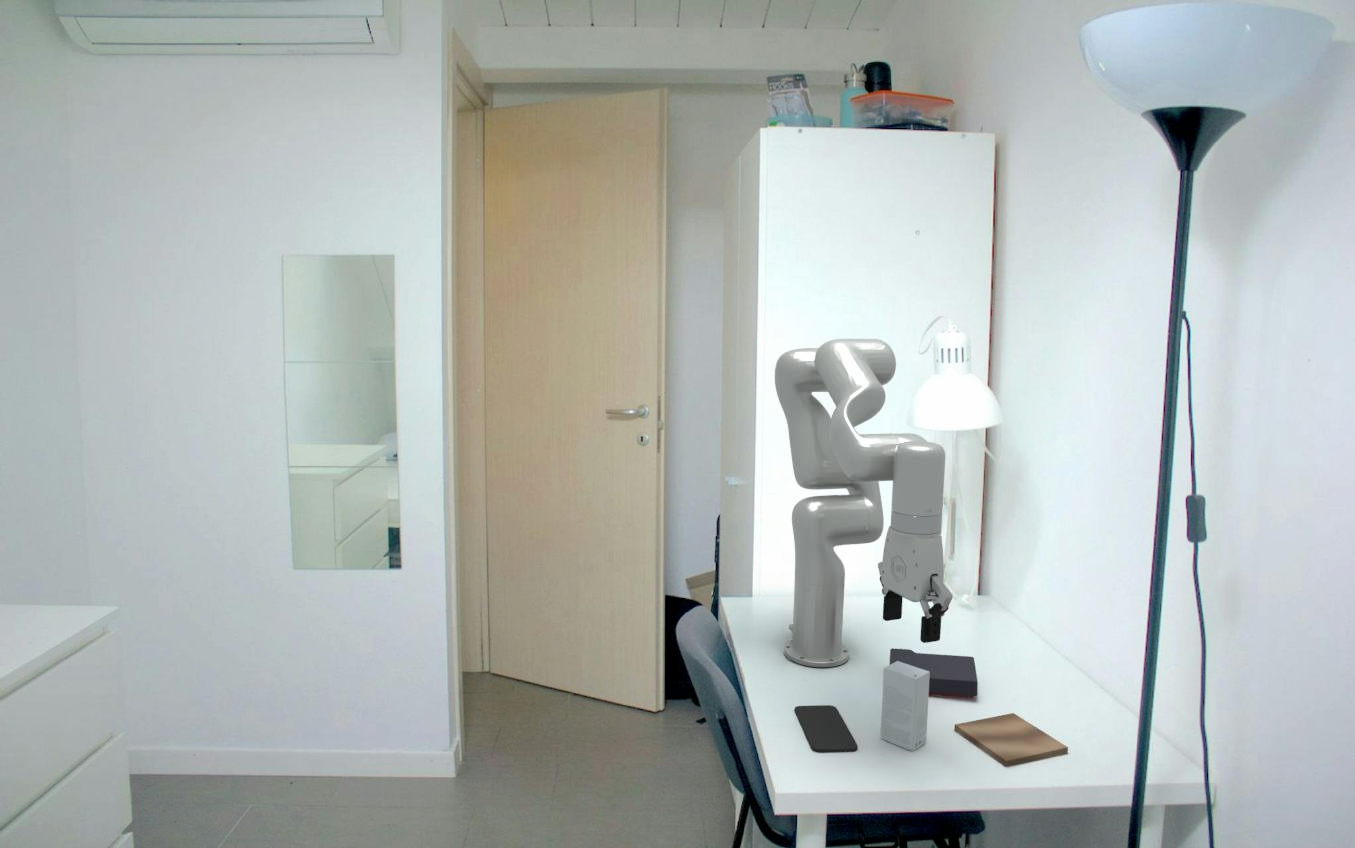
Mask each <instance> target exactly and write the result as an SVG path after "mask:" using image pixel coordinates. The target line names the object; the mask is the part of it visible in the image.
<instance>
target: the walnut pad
mask: <svg viewBox="0 0 1355 848" xmlns="http://www.w3.org/2000/svg"><path fill="white" fill-rule="evenodd" d="M953 730H954V731H955V732H956V733H958V734H959V735H960V736H962V737H963V738H965V739H966V740H967V741H969V742H970V743H971V744H972V745H974V746H976V747H977V748H978V749H980V750H981V751H983V752H984V753H986V754H987V755H988V756H990V757H991V758H993V759H994V760H995V761H996V762H997V763H1000V764H1001V765H1003V766H1004V767H1005V768H1009V767H1012V766H1017V765H1022V764H1026V763H1030V762H1031V763H1032V762H1035V761H1040V760H1044V759H1048V758H1052V757H1056V756H1062V755H1066V754H1068V752H1069V746H1067V745H1065V744H1063V742H1060V741H1059V740H1057V739H1056V738H1054V737H1052V736H1050V734H1048V733H1046V732H1045V731H1043V730H1041V729H1039V728H1038V727H1037V726H1035V725H1033V724H1032V723H1030V722H1028V721H1027V720H1025V719H1024V718H1023V717H1021V716H1019V715H1017V714H1016V713H1014V712H1011V713H1007V714H1002V715H996V716H991V717H987V718H981V719H975V720H971V721H966V722H961V723H956V724H954V729H953Z"/></svg>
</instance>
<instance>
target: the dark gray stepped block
mask: <svg viewBox="0 0 1355 848" xmlns="http://www.w3.org/2000/svg"><path fill="white" fill-rule="evenodd" d="M889 651H890V653H889V654H890V655H889V663H888V664H889V665H891V664H893V663H894V662H896V661H899V662H902V663H905V664H908V665H911V666H914V667H917V668H920V669H923V670H926V671H929V672H930V678H929V696H935V697H936V696H937V697H946V698H961V699H962V698H963V699H975V698H976V697H978V686H979V685H978V676H977V670H976V663H975V657H973V656H968V655H967V656H965V655H955V654H954V655H950V654H937V653H936V654H935V653H920V652H915V651H914V650H912V649H906V648H890V650H889ZM889 665H888V666H889Z"/></svg>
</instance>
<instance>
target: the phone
mask: <svg viewBox="0 0 1355 848" xmlns="http://www.w3.org/2000/svg"><path fill="white" fill-rule="evenodd" d="M793 711H794V713H795V715H796V718H797V720H798V722H799V725H800V726H801V728H802V731H803V734H804V737H805V738H806V741H807V742H808V745H809V747H810V749H811V750H812V751H813V752H814V753H816V754H817V753H819V754H826V753H827V754H828V753H829V754H831V753H832V754H833V753H854V752H857V751H858V749H859V748H858V747H859V746H858V743H857V741H856V740H855V738H854V736H853V735H852V733H851V731H850V729H849V727H848V725H847V724H846V722H845V720H844V718H843V716H842V715H841V713H840V711H839V710H838V708H837V707H836V706H835V705H832V704H831V705H830V704H829V705H827V704H821V705H820V704H819V705H797V706H795V707H794V710H793Z"/></svg>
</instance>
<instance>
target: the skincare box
mask: <svg viewBox="0 0 1355 848" xmlns="http://www.w3.org/2000/svg"><path fill="white" fill-rule="evenodd" d="M882 677H883V678H882V679H883V681H882V683H883V684H882V699H881V700H882V701H881V702H882V703H881V719H880V739H881V740H883V741H886V742H889V743H891V744H893V745H896V746H899V747H901V748H903V749H905V750H908V751H910V752H914V751H916V750H917V749H918V748H920V747H921V746H923V745H925V744H926V743H927V731H928V713H929V712H928V711H929V696H930V695H929V678H930V672H929V671H926V670H923V669H920V668H917V667H914V666H911V665H908V664H905V663H902V662H899V661H896V662H894V663H893V664H891V665H886V666H885V667H883V676H882Z"/></svg>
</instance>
